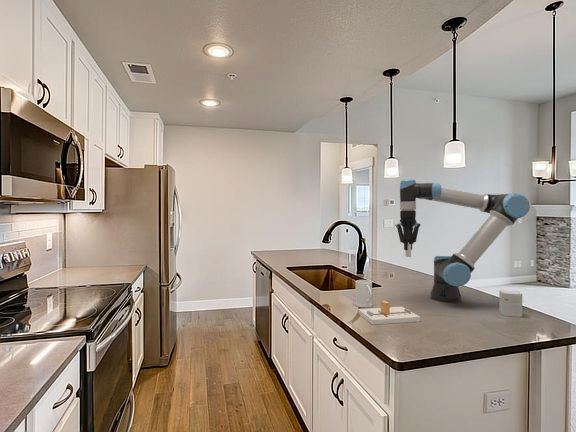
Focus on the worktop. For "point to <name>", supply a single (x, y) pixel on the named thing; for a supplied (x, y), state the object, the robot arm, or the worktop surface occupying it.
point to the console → (388, 315)
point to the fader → (385, 307)
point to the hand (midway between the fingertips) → (408, 256)
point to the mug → (363, 293)
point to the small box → (510, 303)
